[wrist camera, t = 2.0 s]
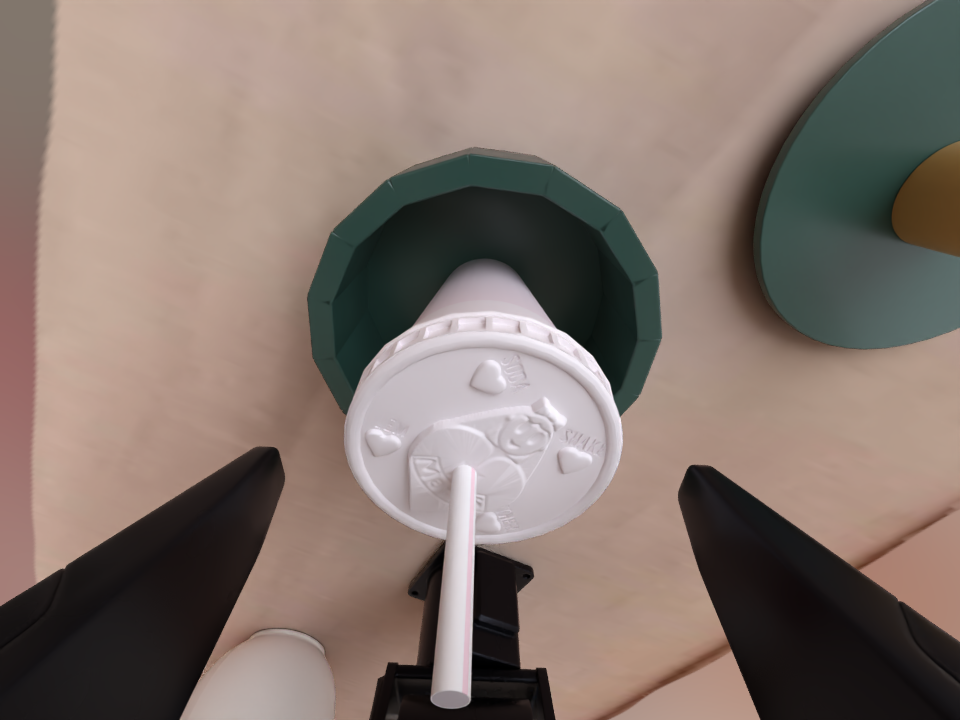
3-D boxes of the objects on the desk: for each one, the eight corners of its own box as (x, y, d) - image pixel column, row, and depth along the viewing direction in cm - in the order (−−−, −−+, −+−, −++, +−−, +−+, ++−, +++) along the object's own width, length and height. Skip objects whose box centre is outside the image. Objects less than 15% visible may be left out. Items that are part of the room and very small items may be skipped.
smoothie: (379, 294, 17) (135, 672, 5) (491, 187, 15) (513, 412, 3) (478, 388, 20) (467, 800, 8) (588, 306, 18) (817, 701, 5)
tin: (524, 437, 22) (533, 511, 18) (315, 341, 19) (267, 400, 15) (677, 248, 17) (741, 288, 12) (422, 80, 14) (394, 59, 10)
